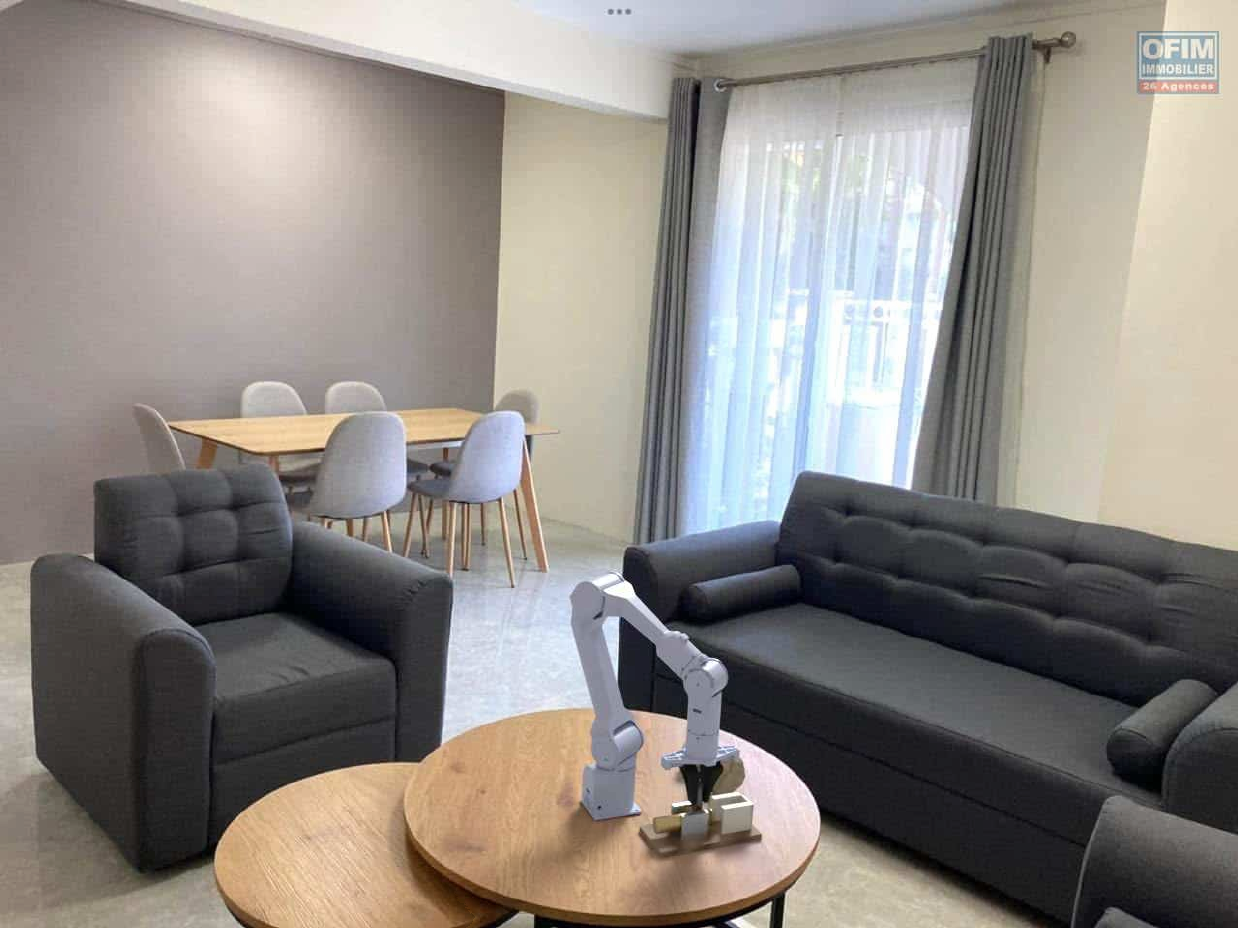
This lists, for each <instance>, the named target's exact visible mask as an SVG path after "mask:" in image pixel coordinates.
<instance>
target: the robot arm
mask: <svg viewBox="0 0 1238 928" xmlns="http://www.w3.org/2000/svg"><path fill="white" fill-rule="evenodd" d="M569 600H570V603H571V604H570V605H571V618H570V625H571V630H572V634H573V637H574V641H575V645H576V648H577V652H578V656H579V659H580V663H581V667H582V671H583V674H584V678H585V681H586V686H587V689H588V693H589V696H590V699H591V704H592V708H593V712H594V715H595V717H594V719H593V722H592V725H591V727H590V730H589V734H590V737H591V739H590V740H591V744H590V753H591V754H590V755H591V756H592V759H593V761H594V762H592V763H590V764H586V765H585V766H584V767H583V772H582V785H581V786H582V789H581V797H580V799H579V801H580V802H581V804H583V805H582V806H583V807H585V809H586V810H587V812H588V813H589V815H590V816H591V817H592V819H593V820H594V821H600V820H606V819H611V818H612V819H613V818H619V817H625V816H626V817H627V816H631V815H636V814H641V813H642V809H641V808H640V806H639V805H638V803H636V802H635V790H636V789H635V788H636V786H635V785H636V770H637V758H638V752H639V751H641V750H642V748H643V746H644V744H645V736H644V733H643V730H642V728H641V727H640V726H639V724H638V723H637V720H636V718H635V714H634V713H633V712H632V711H630V710H628V708H625V706H624V703H623V699H622V696H621V695H622V694H621V692H620V689H619V684H618V681H617V680H618V679H617V678H616V674H615V670H614V665H613V663H612V658H611V656H610V651H609V648H608V644H607V641H606V637H605V633H604V630H603V625H604V623H605V622H606V620H607V619H608V617H615V618H618V617H619V618H623V619H625V620H626V621H627V622H628V623H629V624H631V625H632V626H633V627H634V628H635V629H636V630H637V631H639V632H640V633H641V634H642V635H643V636H645V637H646V638H648V640H650V642H652V643H653V644H654V645H655V649H656V650H655V651H656V655H657V657H658V658H659V659H660V660H662V662H663V663H665V665H667V666H668V667H669V668H670V669H671V670H672V671H673V672H674V673H675V675H677V676H678V677H679V678H680V679H681V680H682V684H683V689H684V691H685V693H686V695H687V700H688V702H687V717H686V731H685V742H686V744H685V748H684V749H678V750H676V751H674V752H673V751H672V752H670V753H667V754H663V755H661V759H660V760H661V761H660V763H661V764H660V766H661V767H662V768H663V769H664V770H665V771H670V770H672V768H673V769H674V768H678V769H679V770H680V774H681V776H682V779H683V781H684V786H685V790H686V796H687V797H686V798H687V802H688V801H689V802H690V803H691V804H692V805H696V803H697V794H698V785H699V781H702V782H703V784H704V794H703V804H706V803H707V804H708V803H709V800H710V799H711V796H712V790H713V787H714V785H715V783H716V781H717V780H718V778H719V777H720V775H721V774H722V773H723V769H724V767H723V765H722V764H720V762H721V760H728V759H733V760H739V757H740V754H741V753H740V752H741V750H740V749H739V747H737V746H736V745H733V744H732V745H719V738H720V737H719V736H720V725H721V723H720V722H721V711H722V710H721V709H722V693H723V692H722V691H721V690H723V689H724V688H725V687H726V686H727V684H728V681H729V674H728V670H727V668H726V666H725V665H724V664H723V663H722V661H720V659H717V658H714V657H709V656H708V655H706V654H705V653H703V652H701V651H700V650H699V649H698V648H697V647H696V646H695V645H694V644H693V643H692V642H691V641H690V640H689V639H690V637H689V636H688V635H687V634H686V633H682V632H680V630H679V631H677V630H675V631H674V630H669V629H668V628H667V627H666V626H665V625H664V624H663V623H662V622H661V621H660V619H659V618H658V617H657V616H656V615H655V614H654V613H653V612H652V611H651V610H650V609H649V607H648V606H646V605H645V603H644V602H643V601H642V599H640V598H639V597H638V596H637V595H636V592H635V590H634V588H633V585H632V584H631V583H630V582H628V581H627V580H625V578H624V577H623V576H622V575H621V574H620V573H618V572H616V571H607V572H605V573H602V574H601V575H599V576H596V577H593V578H591V579H588V580H583V581H581V582H579V583H578V584H577V585H576V586H575V587H574V589H573V590H572V592H571V594H570V595H569ZM696 764H700V772H699V771H698V767H697V766H696Z"/></svg>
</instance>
